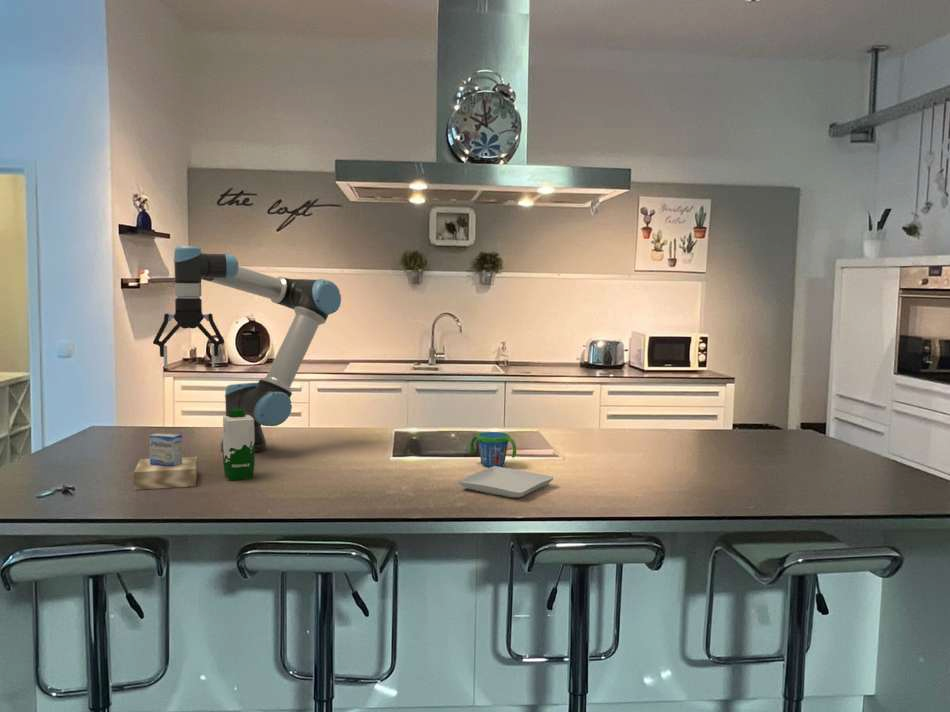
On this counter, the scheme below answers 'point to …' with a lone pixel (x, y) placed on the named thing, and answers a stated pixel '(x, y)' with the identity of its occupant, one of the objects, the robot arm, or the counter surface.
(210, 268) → the robot arm
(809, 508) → the counter surface
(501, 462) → the snack cup
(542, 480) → the salad plate
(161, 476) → the beige slab
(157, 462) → the medicine box
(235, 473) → the milk carton
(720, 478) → the counter surface
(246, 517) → the counter surface
